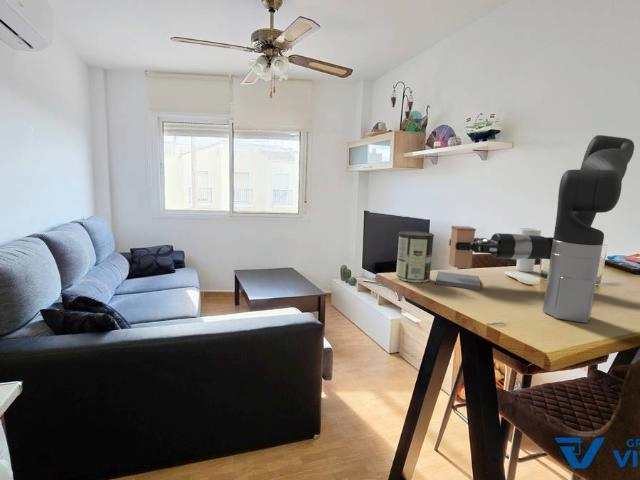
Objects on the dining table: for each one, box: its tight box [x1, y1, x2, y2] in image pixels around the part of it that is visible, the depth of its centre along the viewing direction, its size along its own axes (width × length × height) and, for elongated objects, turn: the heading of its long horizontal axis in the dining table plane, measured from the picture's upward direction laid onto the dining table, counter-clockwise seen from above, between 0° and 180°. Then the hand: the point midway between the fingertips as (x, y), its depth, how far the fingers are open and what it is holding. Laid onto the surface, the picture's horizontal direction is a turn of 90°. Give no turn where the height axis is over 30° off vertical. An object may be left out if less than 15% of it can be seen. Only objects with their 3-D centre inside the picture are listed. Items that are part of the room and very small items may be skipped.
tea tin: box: [448, 225, 477, 269], centre depth 108 cm, size 5×5×12 cm
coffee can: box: [395, 230, 435, 284], centre depth 110 cm, size 10×10×14 cm
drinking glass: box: [515, 227, 542, 273], centre depth 128 cm, size 7×7×15 cm
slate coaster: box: [434, 270, 481, 291], centre depth 109 cm, size 12×12×1 cm
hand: (453, 244), depth 108 cm, fingers closed on tea tin, 5 cm apart
